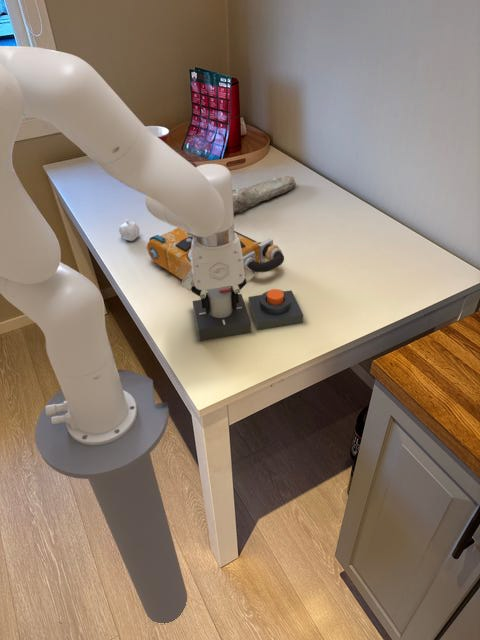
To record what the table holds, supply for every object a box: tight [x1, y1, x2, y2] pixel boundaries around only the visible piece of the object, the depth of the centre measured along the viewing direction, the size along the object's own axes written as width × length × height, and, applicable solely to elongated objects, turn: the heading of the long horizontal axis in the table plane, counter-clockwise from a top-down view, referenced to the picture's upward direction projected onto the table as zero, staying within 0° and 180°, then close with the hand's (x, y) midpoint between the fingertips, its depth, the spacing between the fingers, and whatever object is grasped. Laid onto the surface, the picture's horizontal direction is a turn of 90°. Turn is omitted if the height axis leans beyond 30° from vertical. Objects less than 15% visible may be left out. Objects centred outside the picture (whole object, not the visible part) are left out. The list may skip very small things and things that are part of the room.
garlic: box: [118, 219, 141, 242], centre depth 133 cm, size 6×5×5 cm
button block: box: [248, 289, 304, 330], centre depth 106 cm, size 10×9×4 cm
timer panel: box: [192, 293, 252, 341], centre depth 104 cm, size 11×10×3 cm
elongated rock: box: [232, 175, 297, 215], centre depth 148 cm, size 35×5×10 cm
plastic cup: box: [145, 125, 170, 144], centre depth 171 cm, size 11×11×12 cm
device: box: [146, 227, 285, 292], centre depth 119 cm, size 23×8×30 cm
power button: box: [266, 288, 284, 305], centre depth 104 cm, size 4×4×2 cm
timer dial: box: [207, 286, 232, 318], centre depth 102 cm, size 5×5×5 cm
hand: (220, 306), depth 103 cm, fingers closed on timer dial, 5 cm apart
